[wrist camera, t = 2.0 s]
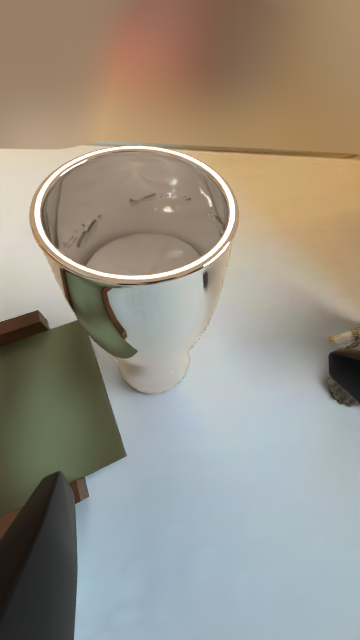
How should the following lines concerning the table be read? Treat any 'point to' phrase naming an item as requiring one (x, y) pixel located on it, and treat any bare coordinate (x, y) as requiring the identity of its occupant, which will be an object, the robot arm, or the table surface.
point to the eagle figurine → (356, 337)
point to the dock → (50, 411)
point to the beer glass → (138, 253)
